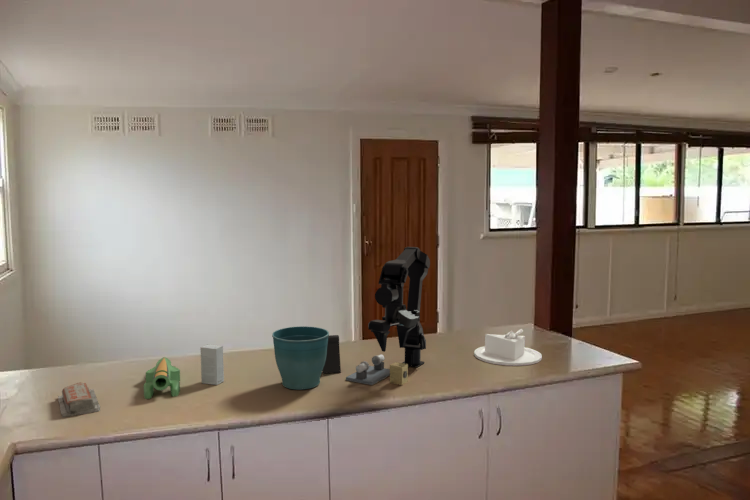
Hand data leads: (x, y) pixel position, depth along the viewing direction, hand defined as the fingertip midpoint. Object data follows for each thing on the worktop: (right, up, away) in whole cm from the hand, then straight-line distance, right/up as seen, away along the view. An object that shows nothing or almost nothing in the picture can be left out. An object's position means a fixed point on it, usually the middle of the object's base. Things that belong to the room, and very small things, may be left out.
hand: (392, 349), depth 199 cm
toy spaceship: (-75, -11, +2) cm, 76 cm away
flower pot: (-30, -11, -1) cm, 32 cm away
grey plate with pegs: (-7, -10, +8) cm, 15 cm away
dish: (+44, -8, +33) cm, 56 cm away
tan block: (+2, -11, +2) cm, 11 cm away
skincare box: (-59, -11, +1) cm, 60 cm away
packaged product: (-93, -14, -19) cm, 95 cm away
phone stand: (-21, -10, +15) cm, 28 cm away
